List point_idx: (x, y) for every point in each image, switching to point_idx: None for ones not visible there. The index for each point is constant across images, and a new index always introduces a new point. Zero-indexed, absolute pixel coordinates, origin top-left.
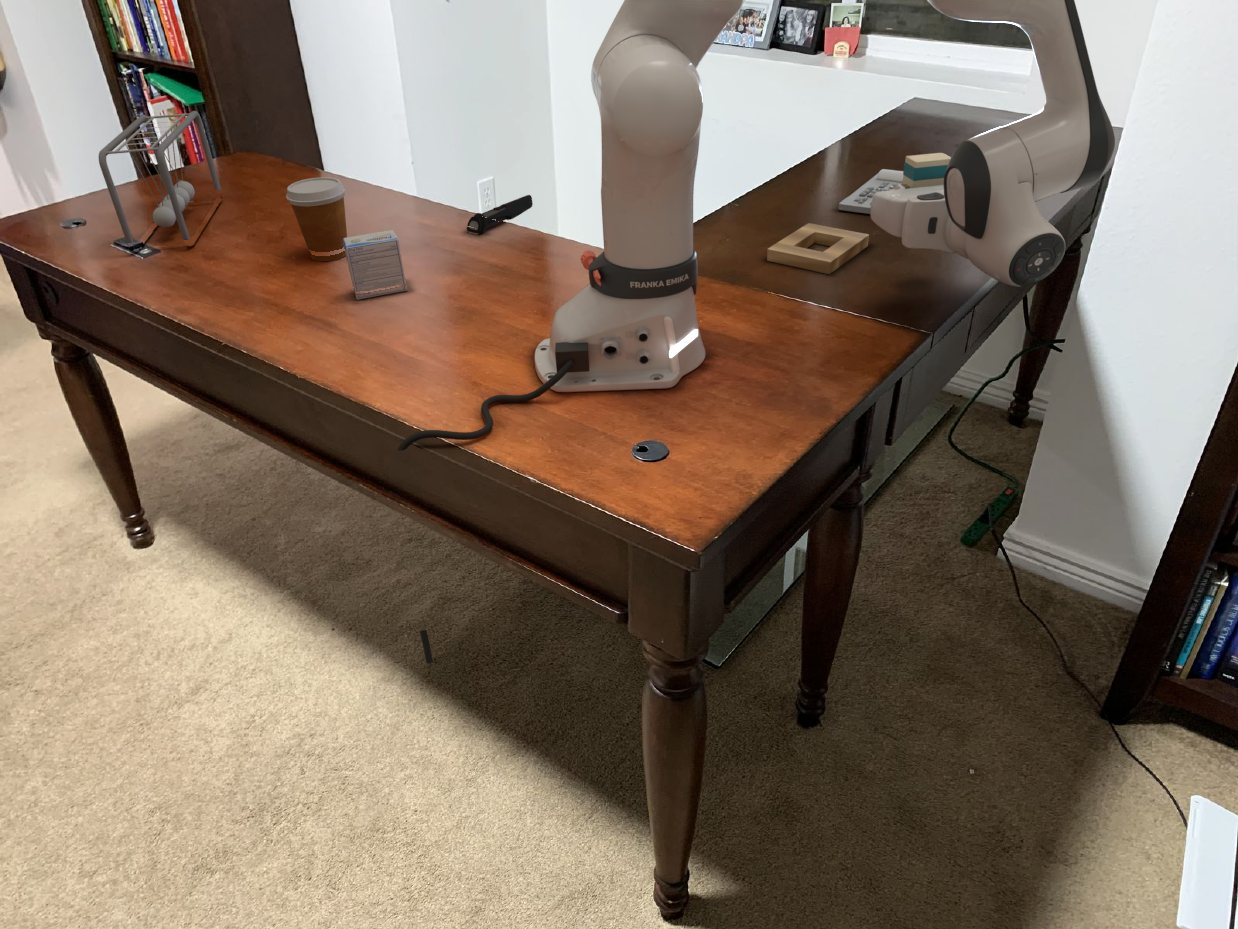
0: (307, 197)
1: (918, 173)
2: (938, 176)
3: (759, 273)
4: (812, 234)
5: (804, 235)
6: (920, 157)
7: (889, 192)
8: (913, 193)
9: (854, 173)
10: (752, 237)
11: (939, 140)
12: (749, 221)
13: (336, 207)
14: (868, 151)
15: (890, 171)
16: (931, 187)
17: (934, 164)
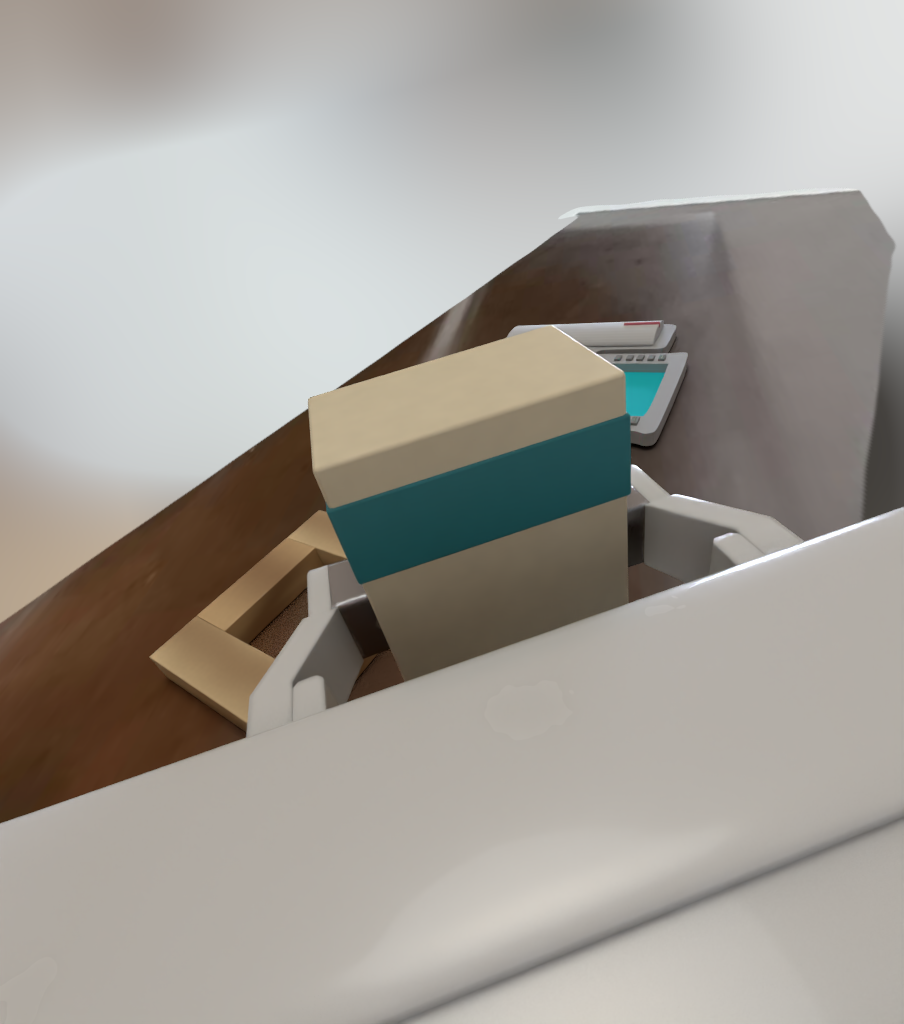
0: None
1: (376, 536)
2: (540, 513)
3: (98, 768)
4: (307, 558)
5: (281, 569)
6: (388, 399)
7: (5, 897)
8: (210, 938)
9: (478, 338)
10: (208, 559)
11: (612, 258)
12: (241, 497)
13: None
14: (509, 294)
15: (528, 329)
16: (459, 712)
17: (481, 450)
